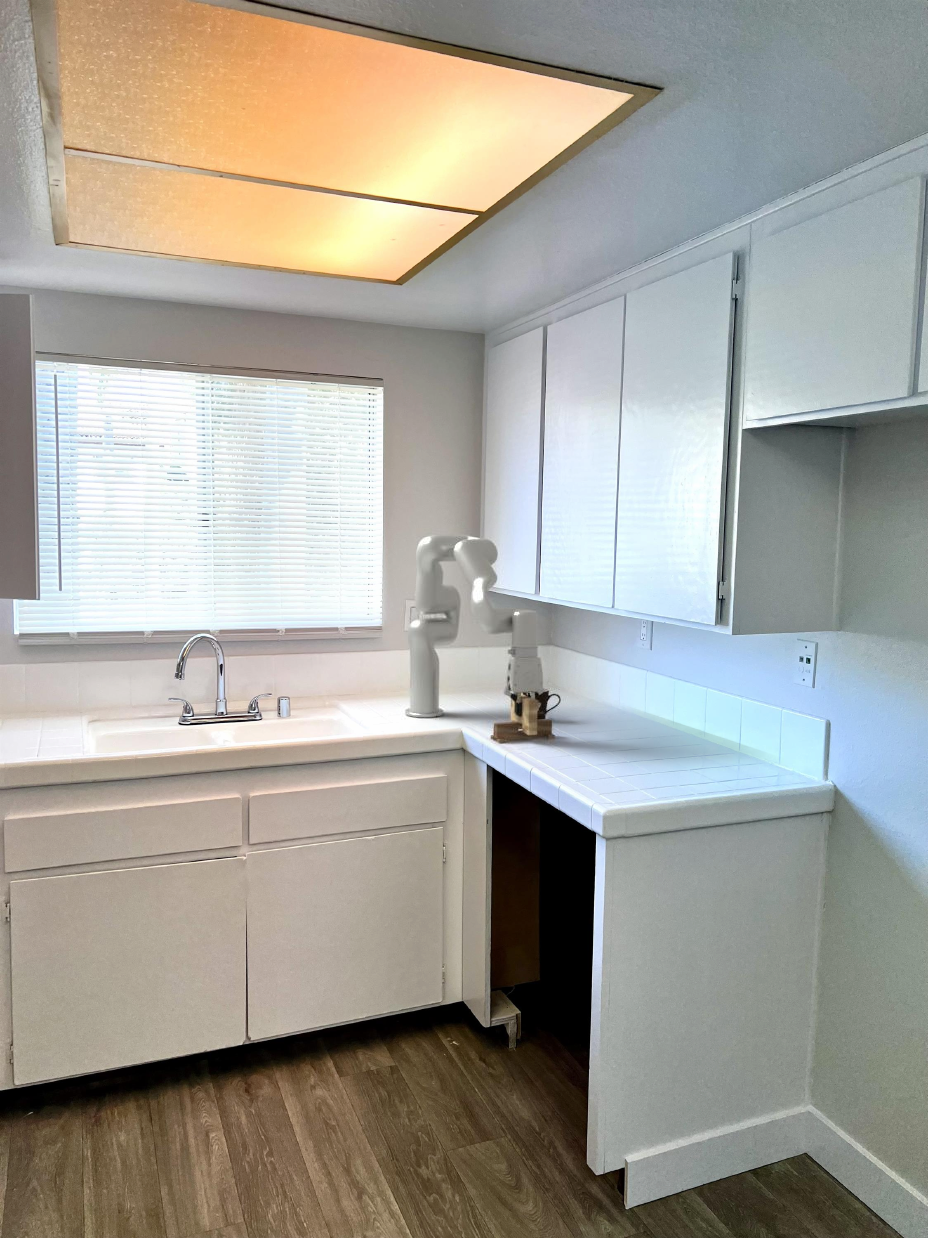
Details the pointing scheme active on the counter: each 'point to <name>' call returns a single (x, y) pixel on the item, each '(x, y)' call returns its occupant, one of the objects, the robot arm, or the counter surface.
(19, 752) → the counter surface
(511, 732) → the walnut notched block
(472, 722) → the counter surface
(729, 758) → the counter surface
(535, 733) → the oak slotted plate
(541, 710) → the coffee mug
